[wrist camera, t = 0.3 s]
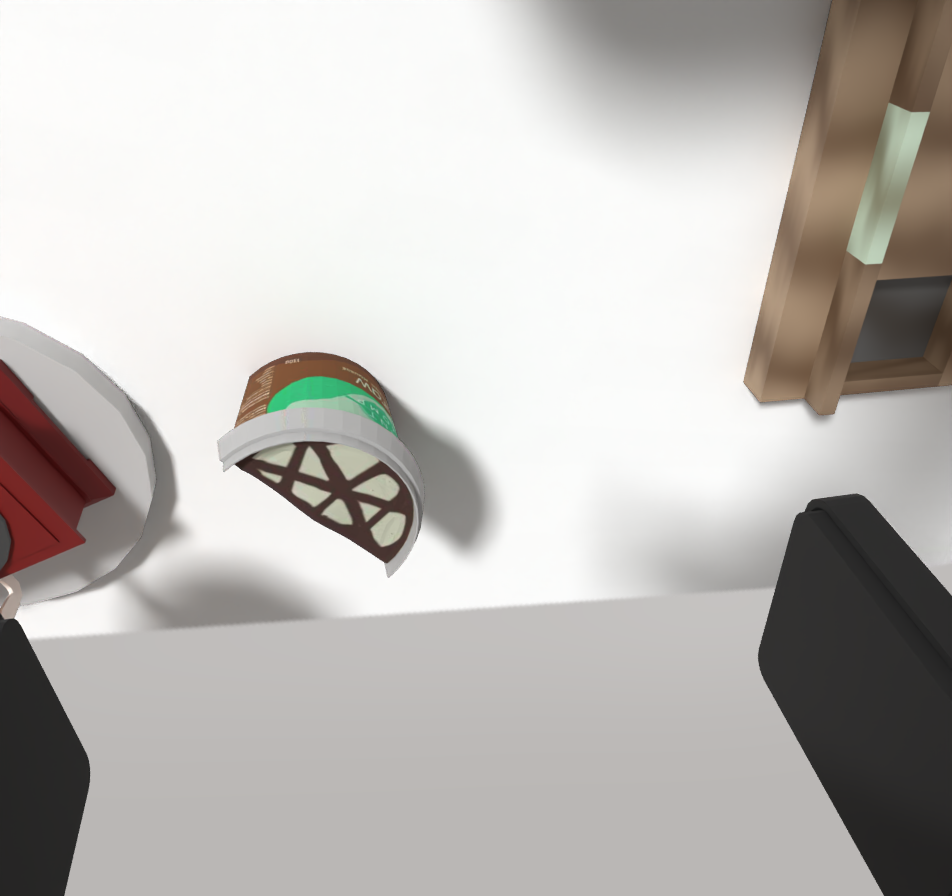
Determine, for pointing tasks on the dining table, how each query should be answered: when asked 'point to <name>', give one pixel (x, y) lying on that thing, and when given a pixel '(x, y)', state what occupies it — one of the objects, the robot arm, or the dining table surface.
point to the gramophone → (64, 470)
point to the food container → (330, 451)
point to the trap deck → (866, 216)
